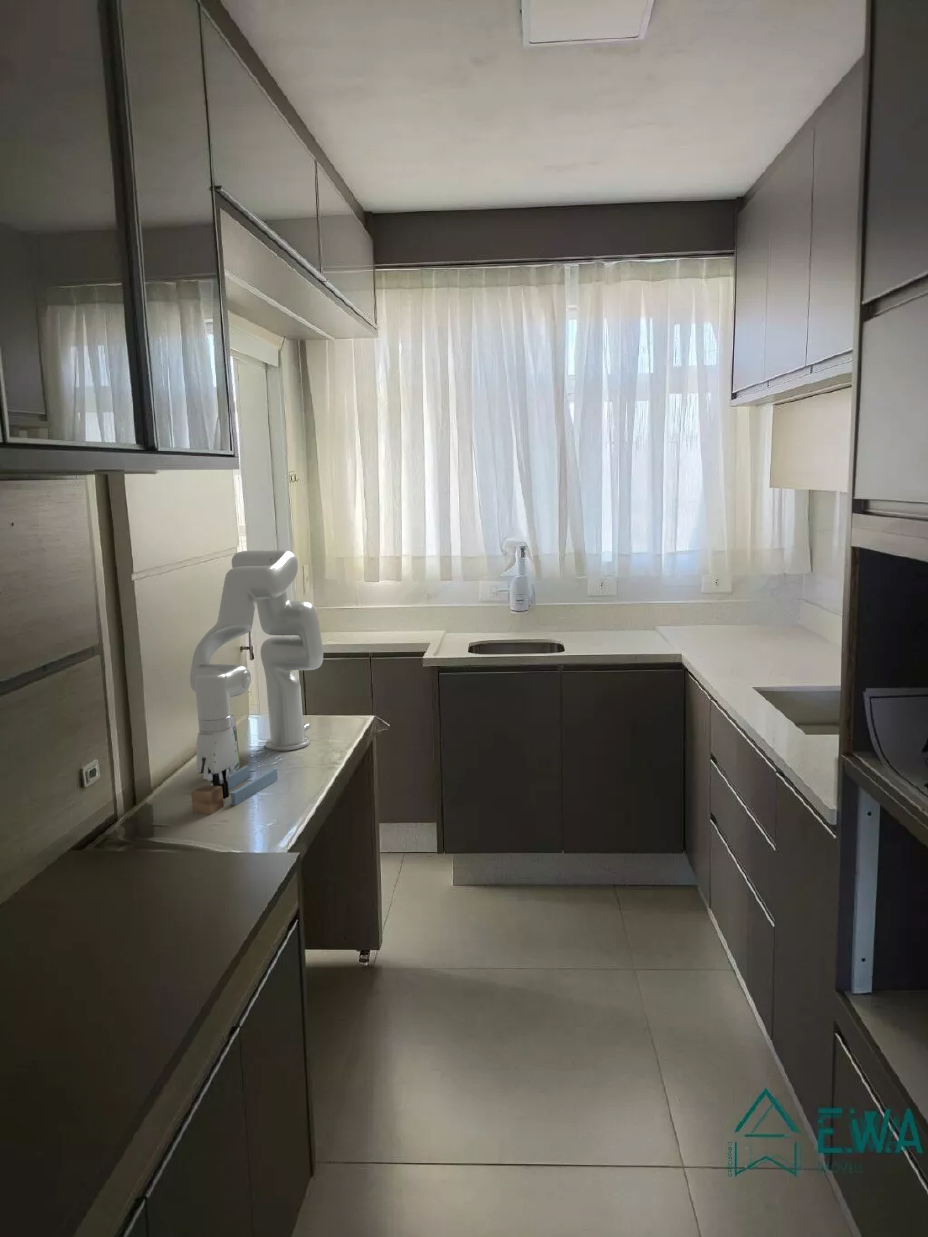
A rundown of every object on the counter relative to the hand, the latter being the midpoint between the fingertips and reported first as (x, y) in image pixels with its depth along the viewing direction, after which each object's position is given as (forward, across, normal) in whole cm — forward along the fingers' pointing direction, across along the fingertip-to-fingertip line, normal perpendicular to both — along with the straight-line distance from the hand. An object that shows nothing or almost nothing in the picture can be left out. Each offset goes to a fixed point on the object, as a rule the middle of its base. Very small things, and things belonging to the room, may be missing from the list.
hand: (221, 797), depth 215 cm
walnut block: (+1, +5, 0) cm, 5 cm away
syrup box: (+1, -20, -13) cm, 24 cm away
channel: (+1, -8, 0) cm, 8 cm away
